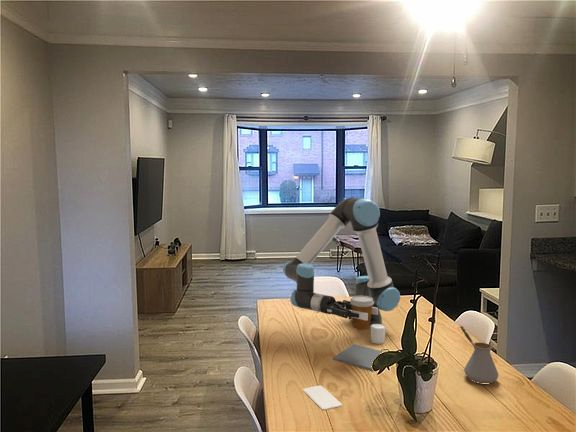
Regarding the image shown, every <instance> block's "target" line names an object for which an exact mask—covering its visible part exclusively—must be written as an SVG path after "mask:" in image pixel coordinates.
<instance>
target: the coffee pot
mask: <svg viewBox="0 0 576 432" xmlns="http://www.w3.org/2000/svg"><path fill="white" fill-rule="evenodd" d="M459 328H460V329H459ZM457 329H458V330H459V331H460V330H461V331H462V333H463V334H464V337H466V338H467V340H468V341H469V343H470V344H471V345H472V347H473V348H474V350H473V352H472V354H471V356H470V357H469V359H468V361H467V362H466V364H465V367H464V369H463V371H464V374H465V375H466V377H467V378H468V379H469V380H470V379H471V380H473V381H475V382H479V383H491V384H493V383H494V382H496V381H497V380H498V378H499V372H498V370H497V367H496V364H495V362H494V359H493V357H492V354H491V351H492V349H493V345H491V344H489V343H485V342H480V341H479V342H474V341H473V340H472V338H471V336H470V334H469V333H468V332H467V331H466V329H465V327H464V326H462V325H460V326H459V327H458V328H457ZM471 380H470V381H471ZM473 381H472V382H473ZM475 382H474V383H475Z"/></svg>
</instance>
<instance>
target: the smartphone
mask: <svg viewBox="0 0 576 432" xmlns="http://www.w3.org/2000/svg"><path fill="white" fill-rule="evenodd" d="M302 390H303V392H304V393H305V394H306V395H307V396H308V397H309V398H310V399H311V400H312V401H313V402H314V404H316V405H317V406H318V407H319V409H321V410H322V411H327V410H331V409H336V408H341V407H342V406H343V404H342V402H340V401H339V400H338V399H337V398H336V397H335V396H334V395H332V394H331V392H330V391H328V390H327V389H326V388H325V387H324V386H323V385H315V386H310V387H305V388H303V389H302Z"/></svg>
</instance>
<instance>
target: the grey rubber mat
mask: <svg viewBox="0 0 576 432" xmlns="http://www.w3.org/2000/svg"><path fill="white" fill-rule="evenodd" d="M382 352H385V351H383V350H379V349H375V348H372V347H368V346H364V345H359V344H355V343H352V344H351V345H350V346H349V347H347V348H345V349H344V350H342V351H340V352H339V353H338V354H336V355H334V356H333V357H332V360H334V361H337V362H339V363H340V362H341V363H345V364H348V365H351V366H355V367H359V368H362V369H365V370H368V371H371V370H372V367H371V366H372V362H373V361H374V359H375V358H376V357H377V356H378V355H379V354H380V353H382Z"/></svg>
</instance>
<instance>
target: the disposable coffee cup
mask: <svg viewBox="0 0 576 432" xmlns="http://www.w3.org/2000/svg"><path fill="white" fill-rule="evenodd" d="M349 301H350V303H351V308H352V310H351V311H353V310H354V311H359V312H364V313H368V320H367V321H366V320H362V319H357V318H353V322H352V324H353V325H352V327H353V329H355V330H358V331H367V330H370V320H371V313H372V307H373V304H374V301H373V298H371V297H368V296H355V295H354V296H351V297H350V300H349Z"/></svg>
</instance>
